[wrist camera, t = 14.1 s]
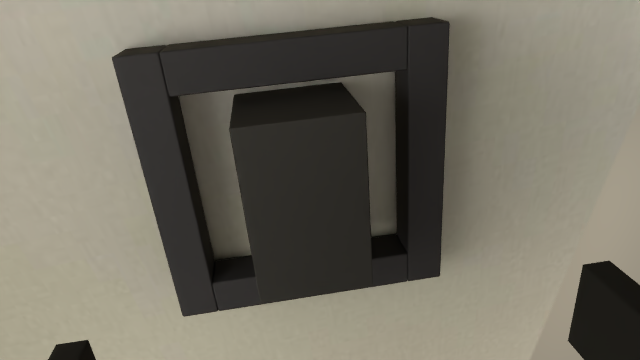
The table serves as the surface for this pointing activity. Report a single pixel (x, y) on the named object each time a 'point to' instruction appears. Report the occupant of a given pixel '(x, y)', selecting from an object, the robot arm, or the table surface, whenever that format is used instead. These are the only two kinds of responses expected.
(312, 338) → the table surface
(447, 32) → the frame pad
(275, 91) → the black box
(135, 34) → the table surface
